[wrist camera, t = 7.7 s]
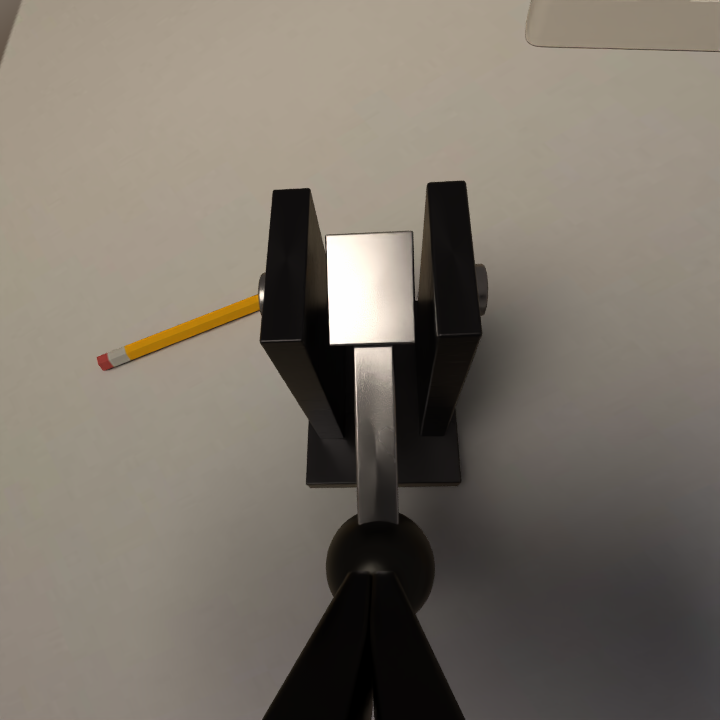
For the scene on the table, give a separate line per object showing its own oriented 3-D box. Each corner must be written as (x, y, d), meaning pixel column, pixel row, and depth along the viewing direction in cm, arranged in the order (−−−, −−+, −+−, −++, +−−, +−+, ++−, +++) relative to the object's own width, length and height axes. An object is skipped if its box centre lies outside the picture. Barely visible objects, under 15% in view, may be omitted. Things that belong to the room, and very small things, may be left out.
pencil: (104, 359, 23) (95, 353, 22) (364, 257, 24) (363, 249, 23) (107, 373, 23) (98, 368, 22) (370, 269, 24) (370, 261, 23)
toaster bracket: (458, 486, 19) (516, 414, 10) (310, 488, 20) (228, 420, 10) (444, 309, 22) (479, 125, 13) (316, 314, 23) (258, 138, 13)
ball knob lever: (431, 591, 15) (441, 653, 12) (334, 591, 15) (320, 652, 12) (422, 251, 15) (430, 226, 12) (324, 255, 15) (306, 232, 12)
